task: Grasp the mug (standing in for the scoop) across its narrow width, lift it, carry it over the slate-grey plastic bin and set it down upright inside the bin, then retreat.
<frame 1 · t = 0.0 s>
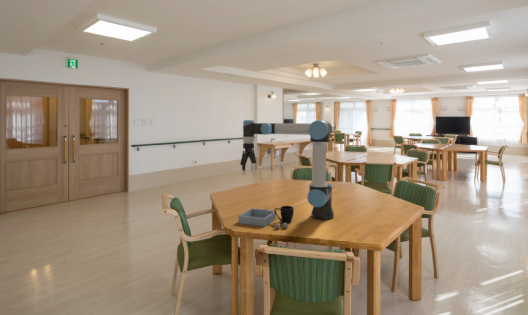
hand: (248, 173, 225), 28 cm above the table, fingers open, 13 cm apart
pebble b: (277, 228, 195), on the table
mug: (283, 222, 209), on the table
lid: (263, 212, 229), on the table
bin: (257, 220, 210), on the table
pebble a: (285, 228, 196), on the table
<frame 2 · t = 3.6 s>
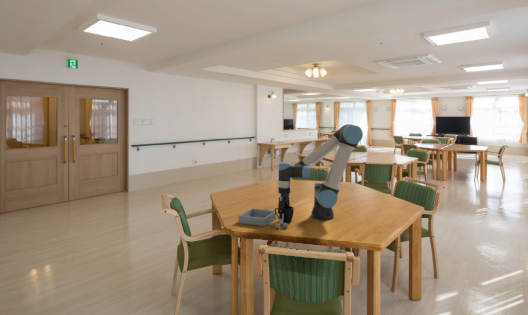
hand: (283, 221, 209), 0 cm above the table, fingers open, 9 cm apart
mug: (283, 222, 209), on the table, touching gripper
everything else where it was.
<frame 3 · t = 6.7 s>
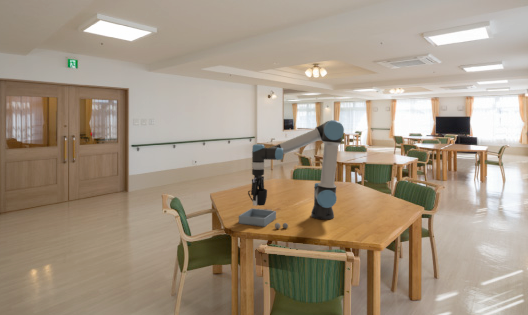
hand: (257, 203, 209), 11 cm above the table, fingers closed on mug, 8 cm apart
mug: (257, 204, 208), point 11 cm above the table, touching gripper
everything else where it was.
when the fingers open (2 cm above the table, at t = 8.6 s): mug drops 1 cm, resting on bin.
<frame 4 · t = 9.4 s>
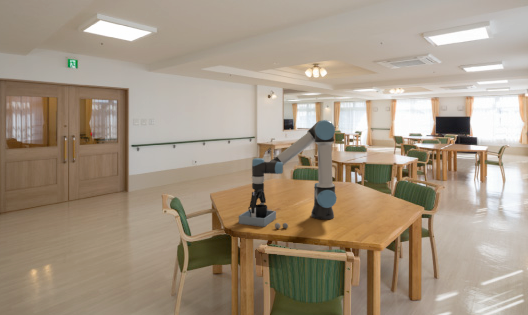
hand: (257, 215, 210), 4 cm above the table, fingers open, 13 cm apart
mug: (257, 220, 210), resting on bin
everything else where it was.
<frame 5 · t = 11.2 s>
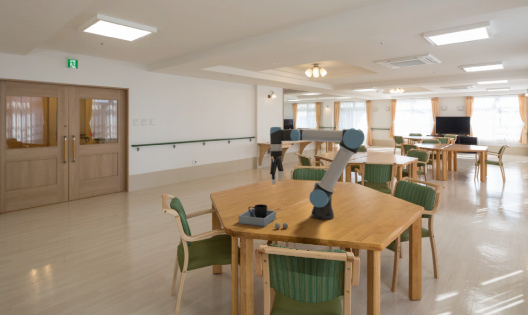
hand: (277, 182, 215), 24 cm above the table, fingers open, 13 cm apart
nothing on the table moved.
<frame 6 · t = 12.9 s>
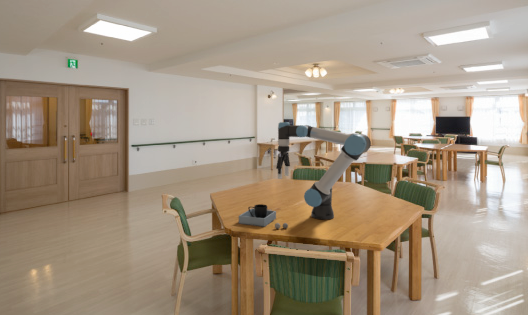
hand: (283, 177, 219), 27 cm above the table, fingers open, 13 cm apart
nothing on the table moved.
at the end: mug inside the target area on the bin (0.5 cm from its centre), point 0.4 cm above the bin's base; mug tilted 0°; the gripper is holding nothing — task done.
